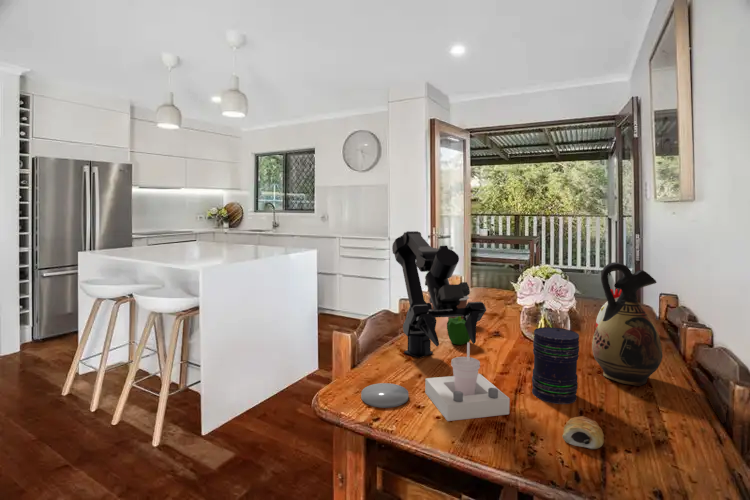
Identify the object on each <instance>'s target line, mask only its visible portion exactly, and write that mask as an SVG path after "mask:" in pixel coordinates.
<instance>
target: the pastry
mask: <svg viewBox="0 0 750 500" xmlns="http://www.w3.org/2000/svg"><path fill="white" fill-rule="evenodd" d="M603 432H604V431H603V429H602V428H601V427H600V426H599V423H598V422H597V421H596V420H594V419H591V418H589V417H587V416H583V415H581V416H574V417H571V418H570V419H569V420H567V421H566V424H564V426H563V434H562V435H561V436H562V439H563V440H564V442H565V443H568V444H569V445H571V446H575V447H580V448H585V449H589V450H597V449H600V448H602V446H603V445H604V443H605V440H604V438H605V437H604V433H603Z"/></svg>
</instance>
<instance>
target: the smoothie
mask: <svg viewBox="0 0 750 500" xmlns="http://www.w3.org/2000/svg"><path fill="white" fill-rule="evenodd" d="M470 344H471V342H470V341H469V342H467V343H466V356H456V357H453V358H452V359H451V362H450V365H451V367H452V374H453V376H454V383H455V391H460V392H463V396H468V395H475V389H476V382H477V376H478V374H479V369H480V368H481V362H480V360H479V359H477V358H474V357H472V356H471V355H470V353H471V352H470V351H471V350H470V349H471V345H470ZM470 356H471V357H470Z"/></svg>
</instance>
